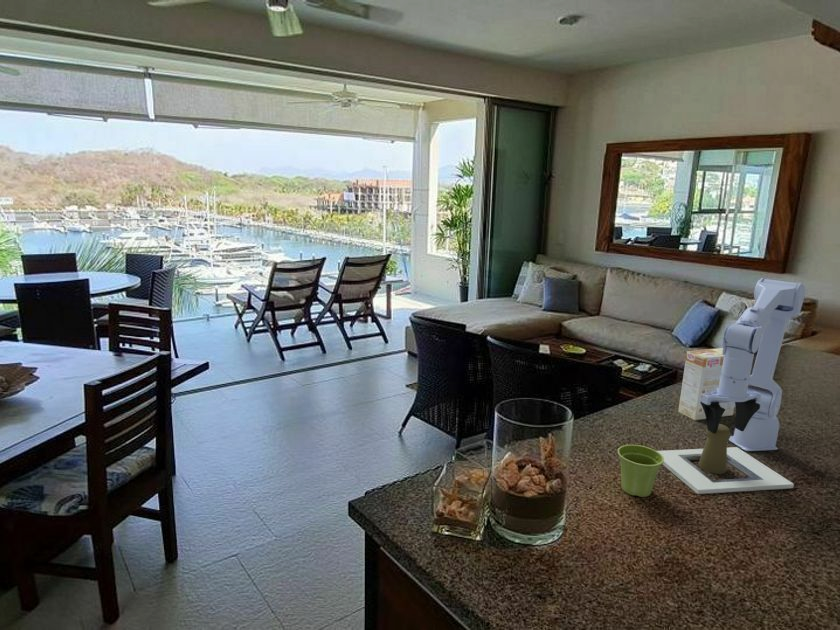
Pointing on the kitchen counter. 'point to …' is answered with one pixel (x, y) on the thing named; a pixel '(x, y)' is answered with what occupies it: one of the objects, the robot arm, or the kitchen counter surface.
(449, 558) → the kitchen counter surface
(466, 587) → the kitchen counter surface
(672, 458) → the white picture frame
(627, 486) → the plant pot
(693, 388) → the coffeecake box
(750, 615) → the kitchen counter surface
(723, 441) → the cork
